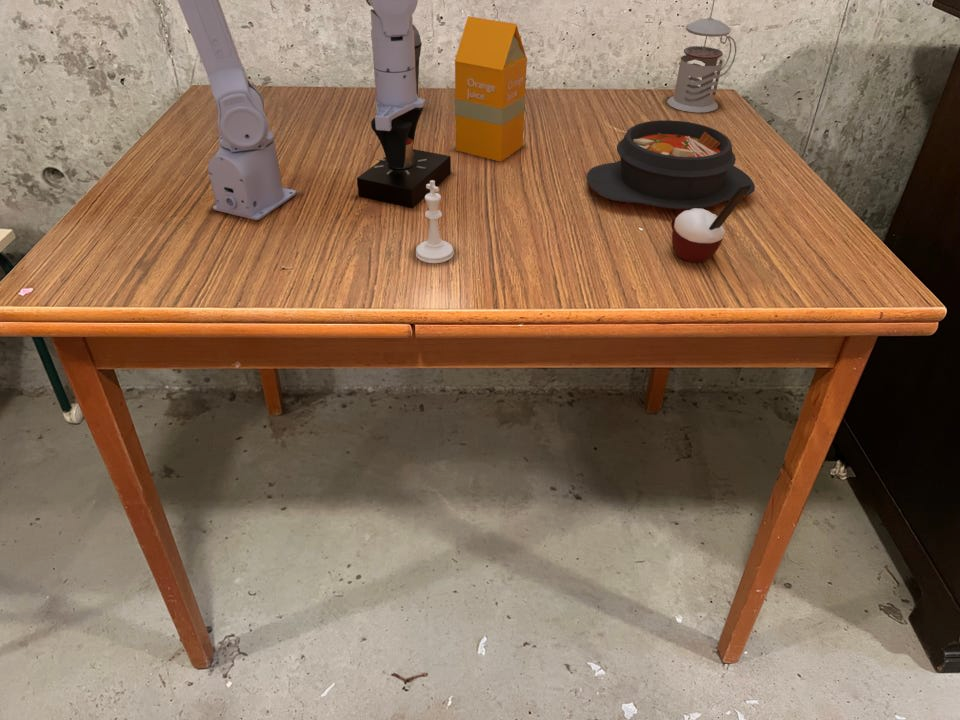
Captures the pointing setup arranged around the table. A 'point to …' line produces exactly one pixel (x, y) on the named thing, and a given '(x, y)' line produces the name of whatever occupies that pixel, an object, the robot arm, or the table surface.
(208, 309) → the table surface
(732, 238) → the table surface
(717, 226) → the rice bowl
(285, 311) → the table surface
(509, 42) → the orange juice
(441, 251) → the chess piece
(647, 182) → the casserole
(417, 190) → the hob panel
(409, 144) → the knob
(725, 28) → the french press
